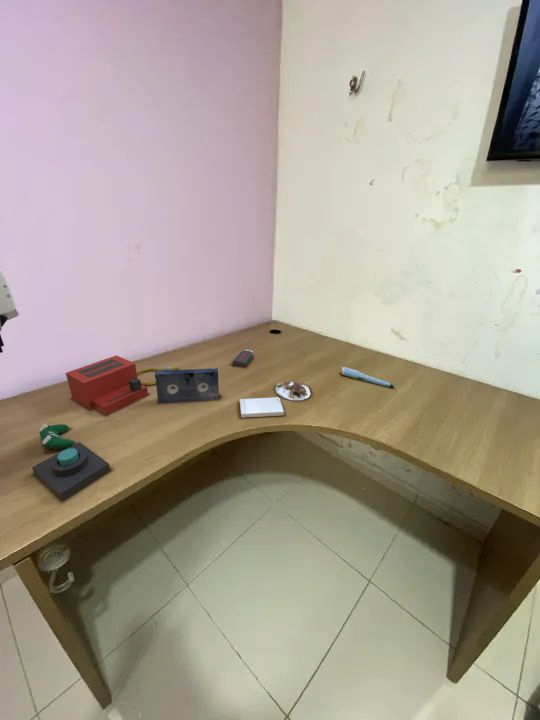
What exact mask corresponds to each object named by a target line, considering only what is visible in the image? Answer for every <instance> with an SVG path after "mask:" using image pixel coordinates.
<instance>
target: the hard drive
mask: <svg viewBox="0 0 540 720" xmlns="http://www.w3.org/2000/svg"><path fill="white" fill-rule="evenodd" d="M280 398H281V397H280V396H279V397H278V396H277V397H254V398H240V399H239V409H240V418H242V419H243V418H259V417H261V418H262V417H263V418H264V417H278V416H279V417H281V416H284V415H285V411H284V409H283V404H282V402H281V399H280Z"/></svg>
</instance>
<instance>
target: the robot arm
mask: <svg viewBox="0 0 540 720" xmlns="http://www.w3.org/2000/svg"><path fill="white" fill-rule="evenodd" d="M19 314H20V313H19V311H18V310H17V309H16V302H15V298H14V295H13V293H12V291H11V288H10V285H9V283H8V281H7V280H6V277H5V275H4V272H3V271H2V269H1V268H0V332H2V328H3V327H4V325H5V324H6V322H7V321H10V320H12V319H14V318H16V317H18V316H20V315H19ZM3 347H5V343H4V341H3V337H2V335H1V334H0V354H1V353H4V350H3Z"/></svg>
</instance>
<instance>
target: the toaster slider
mask: <svg viewBox="0 0 540 720" xmlns="http://www.w3.org/2000/svg"><path fill="white" fill-rule="evenodd" d="M137 378H138V377H137ZM137 378H134V379H132V380H129V386H130V389H131V390H133V391H137V390H140V389H142V387H141V383H142V382H141V379H139V378H138V379H137Z"/></svg>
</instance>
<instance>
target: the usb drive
mask: <svg viewBox="0 0 540 720" xmlns="http://www.w3.org/2000/svg"><path fill="white" fill-rule="evenodd" d="M253 352H254V351H253V350H249V349H243V350H242V351H240V352H239V353H238V354H237V355H236V357H235V358H234V359H233V360H232V367H240V368H245V369H246V368H247V366H249V364H250V363H251V361H252V360H253Z"/></svg>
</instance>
